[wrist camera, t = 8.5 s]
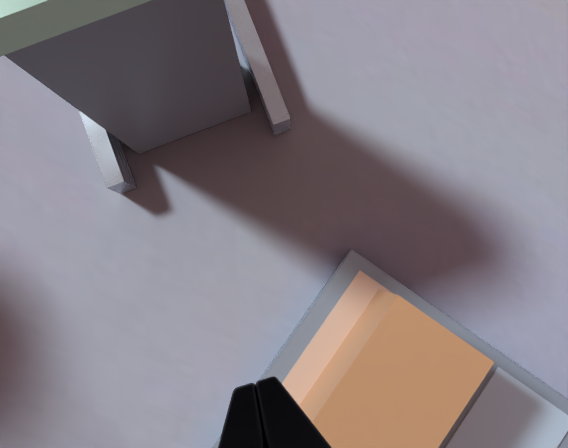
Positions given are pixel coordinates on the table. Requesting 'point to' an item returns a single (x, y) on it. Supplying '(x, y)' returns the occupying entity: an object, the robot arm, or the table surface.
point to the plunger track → (268, 90)
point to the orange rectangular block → (394, 380)
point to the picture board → (504, 372)
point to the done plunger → (131, 62)
